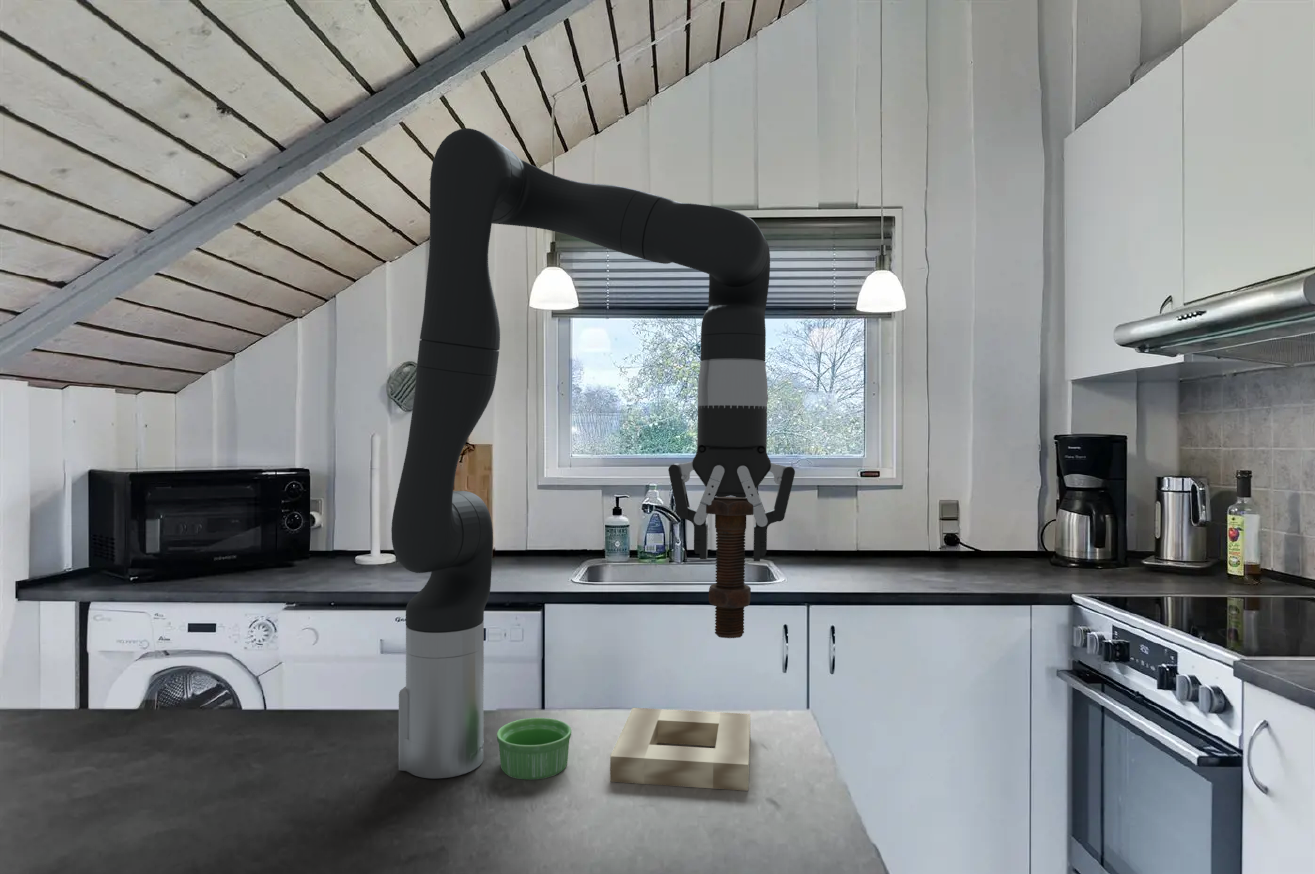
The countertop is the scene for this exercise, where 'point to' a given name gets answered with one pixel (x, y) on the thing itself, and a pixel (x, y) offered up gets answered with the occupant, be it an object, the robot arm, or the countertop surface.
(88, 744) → the countertop surface
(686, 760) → the frame
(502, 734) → the ramekin
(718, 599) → the bolt
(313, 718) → the countertop surface
